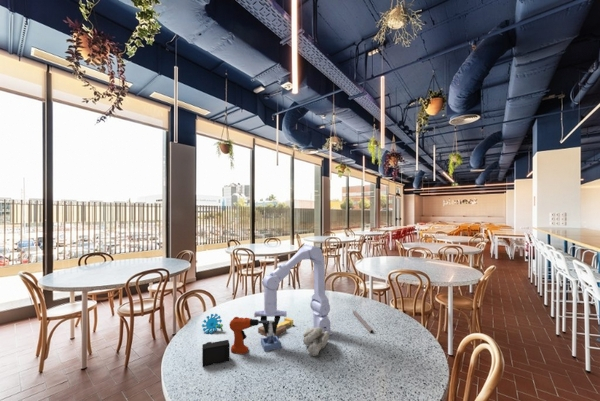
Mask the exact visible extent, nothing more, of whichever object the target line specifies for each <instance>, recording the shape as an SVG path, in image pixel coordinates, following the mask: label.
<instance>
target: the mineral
mask: <svg viewBox="0 0 600 401" xmlns="http://www.w3.org/2000/svg"><path fill="white" fill-rule="evenodd" d="M302 335H303V340H302V341H303V344H304V345H305V346H308V347H307V352H308V353H309V355H310V356H314V357H316V356H318V355H319V353H320V350H323V349H325V348H326V345H327V344H328V342H329V338H330V333H329V332H328V331H325V332H323V331H322V328H319V327H317V328H316V327H312V329H311V328H310V327H308V328H306V330H305V331H304V332H303V334H302Z"/></svg>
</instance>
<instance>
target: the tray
mask: <svg viewBox="0 0 600 401" xmlns="http://www.w3.org/2000/svg"><path fill="white" fill-rule="evenodd" d="M274 337H275V342H274V343H273V344H268V343H267V336H265V337H261V338H260V345H261V347H262V349H263V352H266V351H267V352H268V351H272V350H278V349H281V348H282V342H281V341H280V339H279V337H278V336H274Z"/></svg>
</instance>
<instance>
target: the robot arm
mask: <svg viewBox="0 0 600 401" xmlns="http://www.w3.org/2000/svg"><path fill="white" fill-rule="evenodd" d="M322 250H323V249H321V248H320V247H319V246H316V245H315V246H314V245H309V244H304V245H302V247H299V249H298V250H297V252H296V253H295V254H294V255H293V256H291V258H290V259H289V260H288V261H287V262H286V263H281V264H278V265H277V266H276V268H274V270H273V271H271V272H269V274H267V275H264V277H263V279H262V280H261V285H262V286H263V288H264V290H263V292H264V293H263V296H264V297H263V309H264V310H259V311H257V310H256V311H254V314H253V315H254V318H257V317H260V320H259V321H268V317H274V320H273V321H274V326H275V327H274V334H276V328H277V325H278V324H279V323H280V319H281V317H284V318H286V317H287V315H288V314H287V310H279V309H278V303H277V302H278V293H277V292H278V291H277V290H278V289H277V288H279V286H280V283H281V282H282V281H283V280H284V279H285V278H287V276H288V275H289V274H290V272H291V271H290V270H291V269H293V268H294V267H295V266H297V265H298V264H299V263H300V262H301V261H303V260H310V261H311V262H312V263H313V286H314V287H313V291H314V292H313V293H314V294H312V296H311V301H310V308H311V310H312V317H313V318H312V321H313V322H312V323H313V324H312V325H313V327H316V328H317V327H319V328H322V331H323V332H325V331H328V332H329V333H330V335H331V336H332V335H333V332H331V320H330V319H329V317H328V316H329V313H330V311H331V304H330V301H329V297H327V295H326V281H325V279H326V277H325V276H326V273H325V269H326V268H325V263H326V262H325V257H324V255H323V251H322ZM261 324H262V326H264V330H265V334H267V323H261ZM313 327H312V328H313ZM312 328H310V329H312ZM330 335H329V336H330Z"/></svg>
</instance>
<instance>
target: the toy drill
mask: <svg viewBox="0 0 600 401" xmlns="http://www.w3.org/2000/svg"><path fill="white" fill-rule="evenodd" d="M269 321H270V320H267V321H261V320H259V319H258V318H257V319H255V318H250V317H239V316H234V317H233V319H231V320H230V322H229V329H230V330H231V331H232V332H233V336H234V340H233V344H232V345H231V347H230V352H231V353H233V354H236V355H237V354H238V355H244V354H247V353H248V352H249V347H248V346H247V345H245V342H244V340H246V339H247V335H246V333H245V331H244V330H247V329H249V328H252V327H256V326H258V325H259V324H262V323H269Z"/></svg>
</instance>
